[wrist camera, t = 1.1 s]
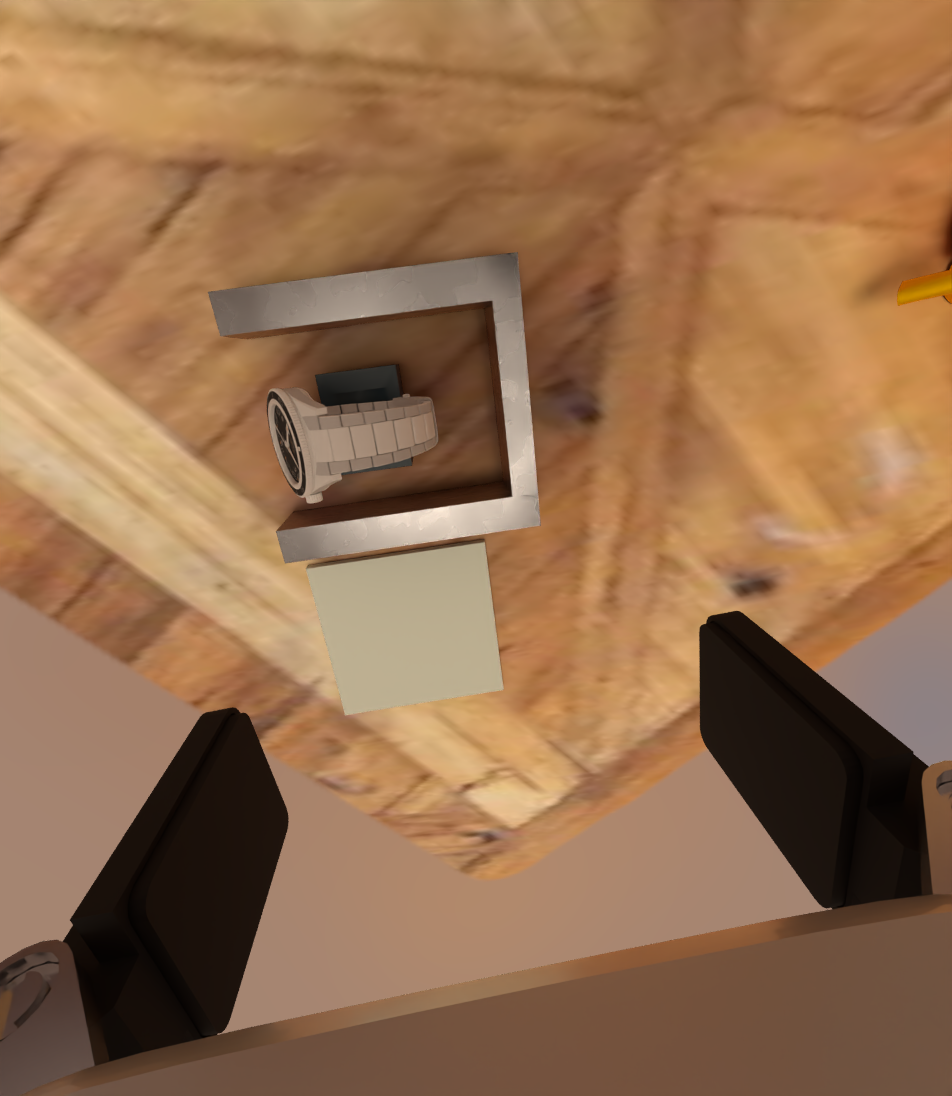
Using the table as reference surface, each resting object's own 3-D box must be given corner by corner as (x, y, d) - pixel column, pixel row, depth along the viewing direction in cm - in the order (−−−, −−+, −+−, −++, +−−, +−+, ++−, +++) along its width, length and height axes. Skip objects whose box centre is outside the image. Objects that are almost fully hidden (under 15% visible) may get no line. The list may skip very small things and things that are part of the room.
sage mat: (307, 565, 34) (305, 568, 33) (483, 539, 34) (484, 542, 34) (346, 710, 38) (345, 715, 38) (502, 685, 39) (503, 689, 38)
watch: (292, 377, 30) (221, 387, 20) (427, 360, 30) (427, 361, 20) (315, 470, 32) (260, 523, 22) (441, 453, 32) (447, 497, 22)
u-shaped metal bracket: (237, 300, 28) (207, 291, 25) (506, 266, 29) (517, 252, 25) (301, 540, 33) (285, 563, 30) (528, 507, 34) (540, 525, 30)
